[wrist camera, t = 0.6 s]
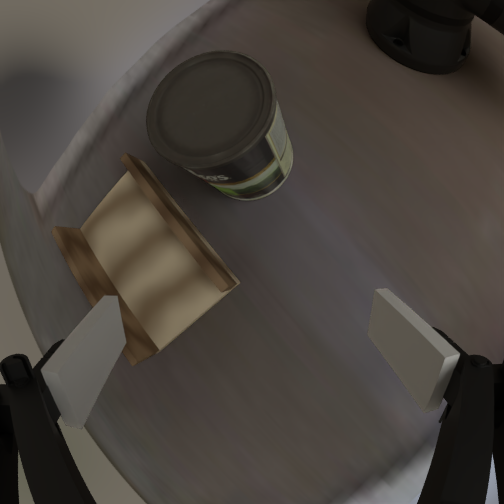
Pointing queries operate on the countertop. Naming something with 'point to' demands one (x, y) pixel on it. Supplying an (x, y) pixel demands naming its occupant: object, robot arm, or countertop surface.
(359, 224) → the countertop surface
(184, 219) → the curved wooden tray
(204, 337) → the countertop surface
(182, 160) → the coffee can
